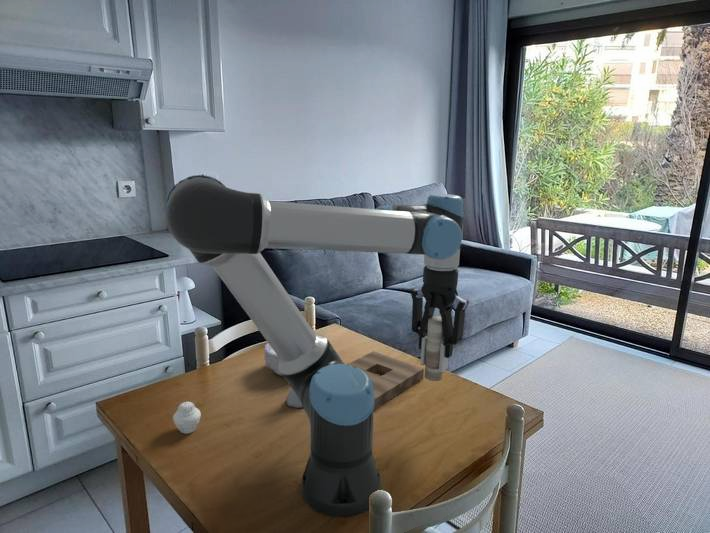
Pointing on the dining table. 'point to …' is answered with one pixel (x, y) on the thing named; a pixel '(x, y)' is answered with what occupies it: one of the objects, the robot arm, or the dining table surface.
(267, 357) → the paper bowls
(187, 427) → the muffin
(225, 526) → the dining table surface
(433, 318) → the peg
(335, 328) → the dining table surface
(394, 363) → the board
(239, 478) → the dining table surface
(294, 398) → the flask
